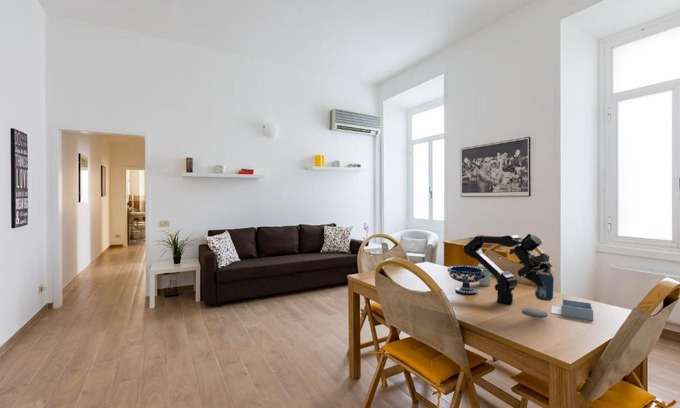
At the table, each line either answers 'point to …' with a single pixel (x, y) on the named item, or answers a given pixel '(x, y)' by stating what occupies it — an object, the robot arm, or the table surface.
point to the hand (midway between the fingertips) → (547, 285)
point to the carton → (574, 309)
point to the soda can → (545, 286)
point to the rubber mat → (534, 312)
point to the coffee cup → (487, 278)
